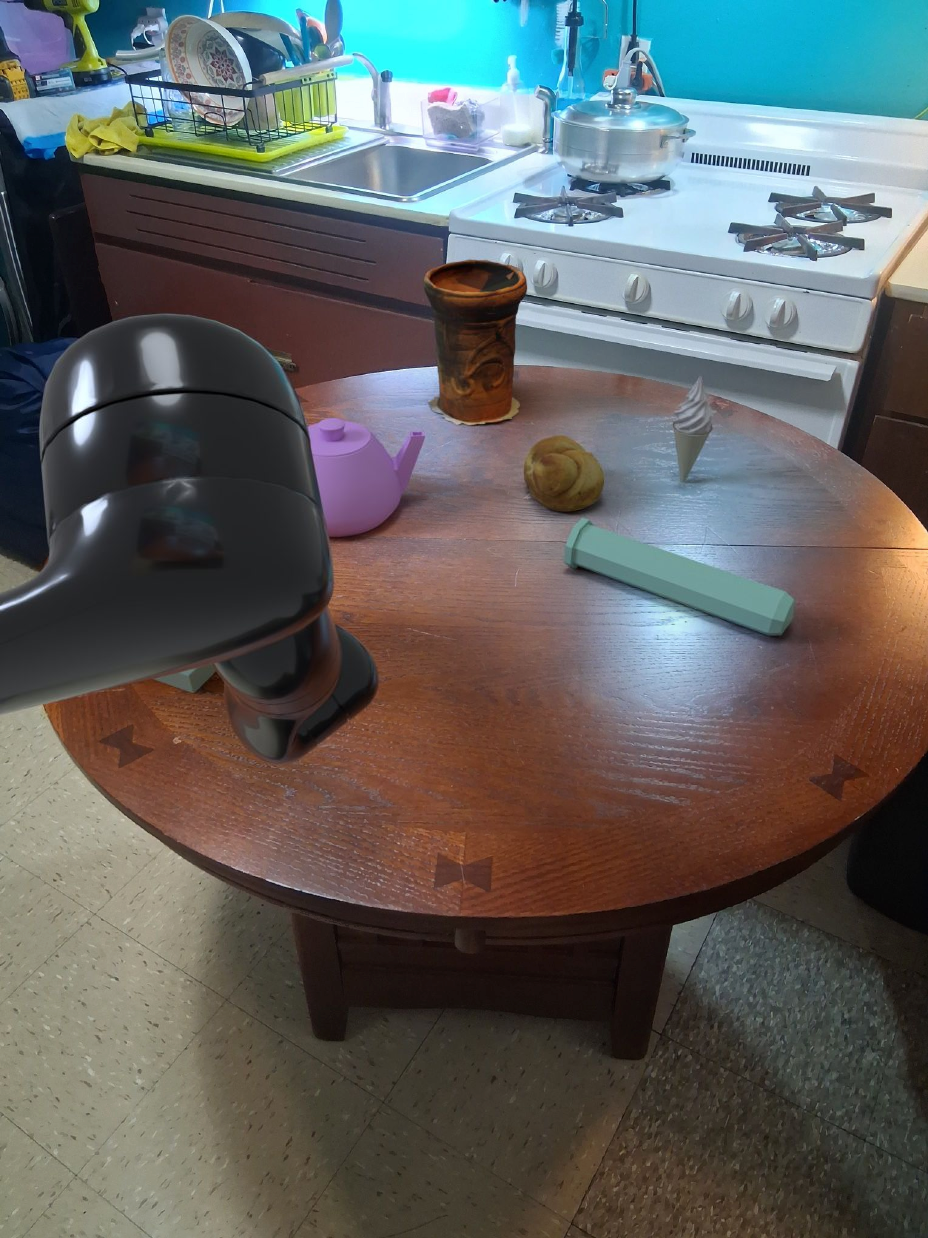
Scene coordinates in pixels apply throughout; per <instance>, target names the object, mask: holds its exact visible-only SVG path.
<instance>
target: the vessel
mask: <svg viewBox="0 0 928 1238" xmlns="http://www.w3.org/2000/svg"><path fill="white" fill-rule="evenodd" d="M423 290H424V293H425V295H426V297H427V299H428V301H429V304H430V308H431V310H432V314H433V321H434V334H435V335H434V336H435V343H436V344H435V359H436V360H435V361H436V367H437V374H438V389H439V395H438V396H434V399H432V400H430V401H428V402H427V403H428V405H429V406H430V408H431V409H432V411H434V412H435V413H438V414H442V415H441V417H442V418H444V421H449V422H451V423H453V424H454V425H456V426H458V425H461V424H464V425H467V426H474V425H477V424H478V425H485V424H486V423H498V422H502V421H506V420H513V418H512V417H514V416H516V415H517V414H518V413H519V412H520V411H519V408H520V406H521V403H520V401H518V400H517V399H515V397H514V396H513V386H514V385H513V383H514V376H515V375H514V374H515V355H516V329H517V314H518V313H519V307H520V305H521V303H522V302H523V300H524V299H525V297H526V295H527V292H528V280H527V277H526V275H525V273H524V272H523V271H522V270H521V268H519V267H518V266H517V267H516V266H514V265H512V264H503V263H500V262H495V261H491V260H488V259H471V258H470V259H465V260H460V261H452V262H447V263H444V264H442V265H440V266H436V267H433V268H431V269H430V270H428V271H427V272H426V274H425V275H424V278H423Z"/></svg>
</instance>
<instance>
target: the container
mask: <svg viewBox="0 0 928 1238" xmlns="http://www.w3.org/2000/svg"><path fill="white" fill-rule="evenodd" d="M569 533H570V534H569V536H568V538H567V541H566V543H565V545H564V554H563V563H564V564H565V565H566V566H567V567H569V568H571V569H573V570H576V569H577V568H578V567H579V568H583V569H586V570H588V571H590V572H594V573H596V574H598V575H602V576H605V577H607V578H610V579H613V580H615V581H618V582H621V583H623V584H626V585H629V586H632V587H635V588H637V589H639V590H643V591H645V592H648V593H651V594H654V595H656V596H659V597H662V598H664V599H667V600H670V601H672V602H676V603H678V604H681V605H684V606H687V607H689V608H691V609H695V610H697V611H700V612H702V613H706V614H708V615H711V616H714V617H716V618H720V619H722V620H725V621H727V622H730V623H732V624H736V625H739V626H741V627H744V628H747V629H750V630H752V631H754V632H756V633H761V634H763V635H765V636H769V637H776V636H777V637H779V636H782V635H783V634H784V632H785V630H786V629H787V628H788V626H789V625H790V624H791V622H792V621H793V620H794V611H795V603H796V601H795V598H793V597H792V596H791V595H790V594H788V592H787V591H785V590H781V589H780V588H776V587H773V586H770V585H767V584H764V583H762V582H758V581H756V580H753V579H750V578H747V577H745V576H741V575H738V574H736V573H732V572H730V571H726V570H723V569H721V568H718V567H715V566H712V565H710V564H706V563H703V562H700V561H697V560H694V559H692V558H688V557H686V556H682V555H679V554H677V553H674V552H671V551H668V550H665V549H662V548H659V547H658V546H657V547H656V546H654V545H650V544H648V543H644V542H642V541H640V540H636V539H633V538H631V537H628V536H624V535H622V534H618V533H616V532H614V531H610V530H607V529H605V528H601V527H598V526H595V525H594V523H592V521H591V520H589V519H587V518H585V517H581V518H580V519H579V520H578V521H577V523H576V524H574V525H573V526H572V529H571V531H570V532H569Z"/></svg>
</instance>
